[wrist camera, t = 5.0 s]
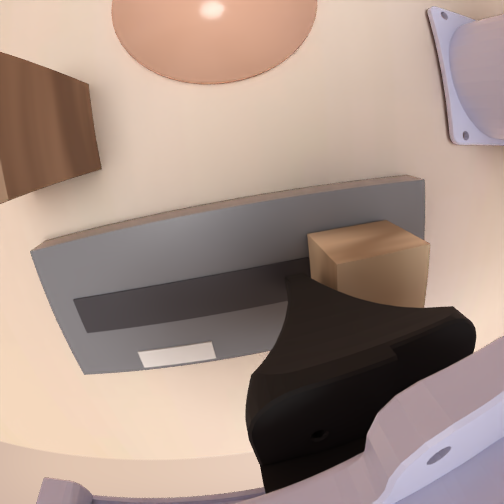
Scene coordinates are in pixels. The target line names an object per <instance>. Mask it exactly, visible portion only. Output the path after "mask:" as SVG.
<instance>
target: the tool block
mask: <svg viewBox="0 0 504 504" xmlns="http://www.w3.org/2000/svg"><path fill="white" fill-rule="evenodd" d="M100 169H102V168H101V163H100V158H99V153H98V147H97V142H96V136H95V130H94V123H93V117H92V110H91V102H90V94H89V85H88V84H87V83H84V82H82V81H79V80H77V79H75V78H72V77H69V76H67V75H64V74H62V73H59V72H57V71H54V70H51V69H49V68H46V67H43V66H40V65H38V64H35V63H32V62H29V61H26V60H23V59H21V58H18V57H15V56H12V55H9V54H5V53H2V52H0V204H2V203H4V202H7V201H9V200H12V199H14V198H17V197H19V196H22V195H25V194H27V193H30V192H33V191H36V190H38V189H41V188H44V187H47V186H50V185H53V184H56V183H59V182H62V181H65V180H68V179H71V178H74V177H77V176H80V175H83V174H87V173H90V172H93V171H97V170H100Z"/></svg>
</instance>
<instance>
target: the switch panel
mask: <svg viewBox="0 0 504 504" xmlns="http://www.w3.org/2000/svg"><path fill="white" fill-rule="evenodd" d="M383 220H387V221H389V222H391V223H393V224H395V225H397V226H399V227H400V228H402V229H404V230H406V231H408V232H410V233H412V234H413V235H415V236H417V237H419V238H421V239H422V240H424V229H425V182H424V179H421V178H417V177H413V176H409V175H402V176H393V177H383V178H375V179H366V180H358V181H350V182H342V183H334V184H327V185H320V186H313V187H306V188H299V189H292V190H286V191H279V192H273V193H267V194H261V195H255V196H249V197H243V198H237V199H232V200H226V201H221V202H215V203H210V204H205V205H199V206H194V207H189V208H184V209H179V210H174V211H169V212H165V213H160V214H155V215H150V216H146V217H141V218H137V219H132V220H128V221H123V222H119V223H115V224H110V225H106V226H102V227H98V228H94V229H90V230H86V231H82V232H78V233H74V234H70V235H66V236H62V237H58V238H54V239H51V240H47V241H44V242H43V243H41V244H40V245H38V246H37V247H36V248H34V249H33V250H31V251H30V253H31V256H32V259H33V262H34V265H35V267H36V270H37V273H38V276H39V278H40V281H41V284H42V286H43V289H44V291H45V294H46V296H47V299H48V301H49V304H50V306H51V308H52V311H53V313H54V315H55V317H56V320H57V322H58V324H59V326H60V328H61V330H62V333H63V335H64V337H65V339H66V341H67V343H68V345H69V347H70V349H71V351H72V353H73V355H74V357H75V358H76V360H77V362H78V364H79V366H80V368H81V370H82V371H83V373H84V375H86V374H103V373H117V372H129V371H139V370H149V369H158V368H167V367H175V366H182V365H190V364H197V363H204V362H210V361H216V360H222V359H228V358H234V357H240V356H245V355H251V354H256V353H261V352H266V351H271V349H272V348H273V346H274V345H275V343H276V341H277V339H278V336H279V334H280V332H281V329H282V326H283V323H284V320H285V316H286V311H287V305H288V296H287V291H286V285H285V277H287V276H291V275H295V274H299V273H304V274H306V275H307V276H309V277H310V278H311V271H310V259H309V248H308V237H307V234H310V233H315V232H321V231H326V230H332V229H338V228H343V227H349V226H355V225H360V224H366V223H372V222H377V221H383Z"/></svg>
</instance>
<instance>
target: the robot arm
mask: <svg viewBox="0 0 504 504" xmlns="http://www.w3.org/2000/svg"><path fill="white" fill-rule="evenodd" d="M427 12H428V16H429V20H430V24H431V27H432V31H433V35H434V39H435V44H436V48H437V52H438V57H439V62H440V67H441V73H442V78H443V84H444V91H445V98H446V105H447V113H448V123H449V134H450V139H451V141H452V142H453V143H454V144H458V145H500V146H504V14H501V15H497V16H493V17H489V18H485V19H481V20H478V21H477V20H474V19H471V18H469V17H466V16H463V15H460V14H457V13H454V12H451V11H448V10H445V9H442V8H439V7H435V6H432V7H430V8H429V9H428V10H427ZM441 15H442V16H443V17H442V16H441ZM443 18H444V19H443ZM463 133H464V138H463ZM285 285H286V291H287V296H288V305H287V311H286V316H285V320H284V323H283V326H282V329H281V332H280V334H279V336H278V339H277V341H276V343H275V345H274V346H273V348H272V349H271V351H270V353H269V354H268V356H267V357H266V359H265V360H264V361H263V363H262V364H261V365H260V366H259V367H258V368H257V370H256V371H255V372H254V373H253V374H252V375H251V379H250V383H249V388H248V394H247V400H246V425H247V431H248V436H249V441H250V443H251V446H252V448H253V450H254V453H255V455H256V457H257V460H258V462H259V464H260V467H261V473H262V479H263V484H264V487H262V488H257V489H251V490H245V491H239V492H232V493H224V494H215V495H205V496H193V497H177V498H125V497H107V496H97V495H92V494H91V493H90V492H89V491H88V490H87V489H86V488H85V487H83V486H82V485H80V484H78V483H76V482H73V481H69V480H61V479H55V478H49V477H45V478H44V479H43V482H42V486H41V489H40V492H39V496H38V499H37V503H36V504H504V336H503V337H500V338H498V339H496V340H494V341H493V342H491V343H490V344H488V345H486V346H485V347H483V348H481V349H479V350H478V351H476V352H474V348H475V342H476V330H475V327H474V325H473V323H472V322H471V321H470V320H469V319H468V318H466V317H465V316H464V315H463V314H462V313H460V312H459V311H458V310H457V309H455V308H454V307H453V306H451V307H433V308H415V307H400V306H392V305H385V304H379V303H375V302H370V301H367V300H363V299H359V298H356V297H353V296H350V295H347V294H344V293H342V292H339V291H337V290H334V289H332V288H330V287H328V286H326V285H324V284H321V283H319V282H317V281H315V280H314V279H312V278H310V277H309V276H307V275H306V274H304V273H299V274H295V275H291V276H287V277H285ZM473 352H474V353H473Z"/></svg>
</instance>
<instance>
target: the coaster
mask: <svg viewBox="0 0 504 504" xmlns="http://www.w3.org/2000/svg"><path fill="white" fill-rule="evenodd" d="M316 11H317V0H113V1H112V21H113V26H114V29H115V32H116V35H117V37H118V39H119V40H120V42H121V44H122V45H123V47H124V48H125V49H126V50H127V52H128V53H129V54H130V55H131V56H132V57H133V58H135V59H136V60H137V61H138V62H139V63H140V64H142V65H143V66H145V67H146V68H148V69H149V70H151V71H153V72H155V73H157V74H159V75H162V76H165V77H168V78H170V79H174V80H178V81H183V82H188V83H197V84H218V83H229V82H234V81H239V80H243V79H246V78H250V77H253V76H256V75H258V74H261V73H263V72H265V71H268V70H269V69H271V68H273V67H275V66H276V65H278V64H280V63H281V62H282V61H284V60H285V59H286V58H288V57H289V56H290V55H291V54H292V53H293V52H294V51H295V50H296V49H297V48H298V47H299V46H300V45H301V44H302V42H303V41H304V40H305V38H306V37H307V36H308V34H309V32H310V30H311V28H312V26H313V23H314V20H315V17H316Z"/></svg>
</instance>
